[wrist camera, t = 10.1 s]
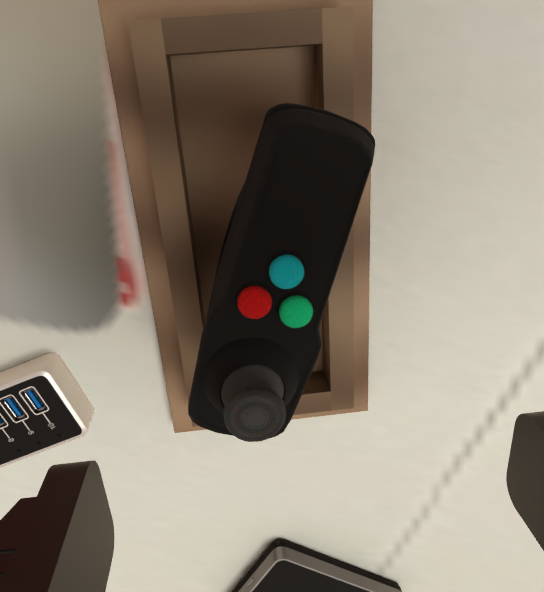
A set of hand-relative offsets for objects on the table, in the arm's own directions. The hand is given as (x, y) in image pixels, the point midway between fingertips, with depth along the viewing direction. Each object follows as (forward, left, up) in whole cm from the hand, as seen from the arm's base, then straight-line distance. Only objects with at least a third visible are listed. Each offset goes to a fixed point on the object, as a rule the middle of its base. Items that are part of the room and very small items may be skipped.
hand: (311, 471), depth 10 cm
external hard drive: (+27, +2, -18) cm, 33 cm away
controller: (0, 0, -16) cm, 16 cm away
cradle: (0, 0, -17) cm, 17 cm away
